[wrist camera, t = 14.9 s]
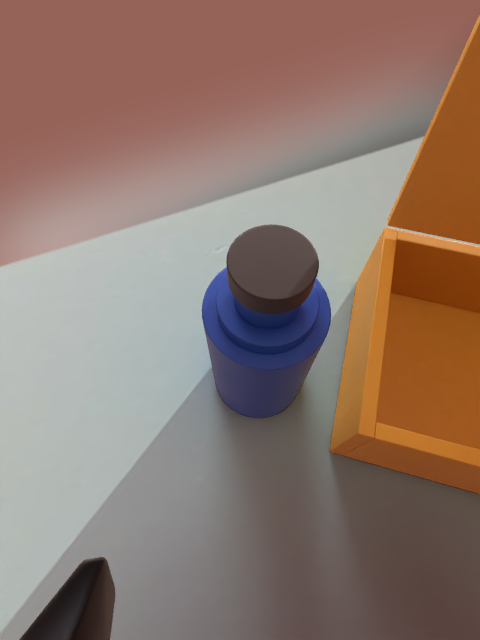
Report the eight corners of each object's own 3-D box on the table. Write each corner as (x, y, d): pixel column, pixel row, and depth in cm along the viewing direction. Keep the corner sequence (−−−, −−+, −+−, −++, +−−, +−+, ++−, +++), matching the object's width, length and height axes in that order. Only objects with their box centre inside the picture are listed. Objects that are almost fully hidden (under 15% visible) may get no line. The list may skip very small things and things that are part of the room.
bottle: (318, 381, 23) (387, 270, 12) (251, 437, 21) (262, 366, 11) (262, 320, 24) (279, 177, 14) (197, 368, 23) (161, 249, 12)
